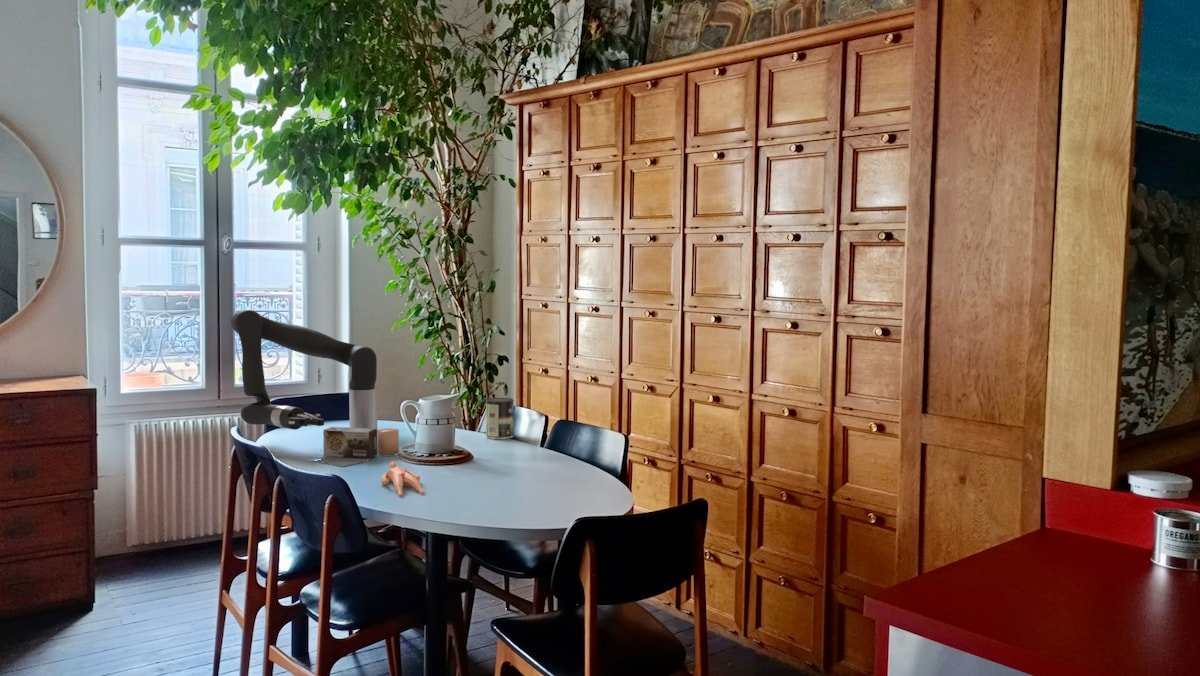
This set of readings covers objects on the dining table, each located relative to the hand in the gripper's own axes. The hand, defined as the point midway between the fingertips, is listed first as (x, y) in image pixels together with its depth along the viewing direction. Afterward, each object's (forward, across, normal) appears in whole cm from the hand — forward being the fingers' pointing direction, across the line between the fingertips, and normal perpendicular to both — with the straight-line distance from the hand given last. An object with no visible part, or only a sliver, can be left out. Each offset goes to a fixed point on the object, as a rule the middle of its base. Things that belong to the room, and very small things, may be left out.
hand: (322, 422), depth 284 cm
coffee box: (0, +2, +7) cm, 7 cm away
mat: (+9, 0, +12) cm, 15 cm away
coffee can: (+26, +60, +12) cm, 66 cm away
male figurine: (+48, -12, +12) cm, 51 cm away
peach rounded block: (+14, +16, +12) cm, 24 cm away
